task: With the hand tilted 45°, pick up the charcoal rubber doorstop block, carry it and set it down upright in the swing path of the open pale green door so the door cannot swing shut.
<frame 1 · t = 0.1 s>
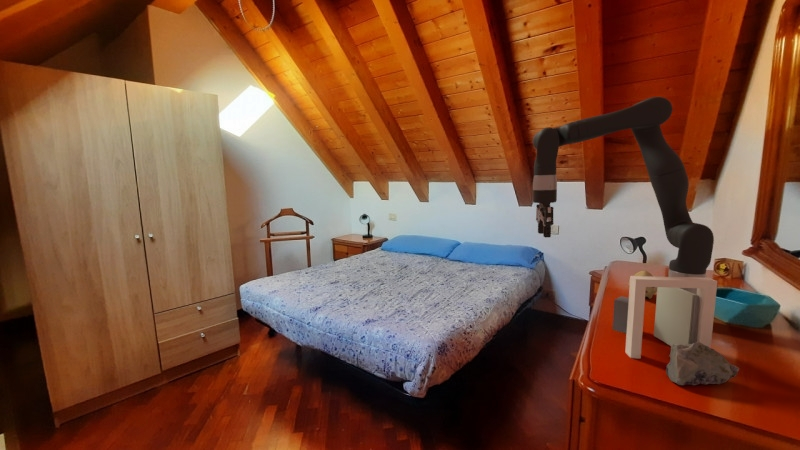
hand: (544, 235, 115), 29 cm above the table, tool pointing down, fingers open, 8 cm apart
doorstop block: (623, 329, 105), on the table
door: (677, 317, 92), point 9 cm above the table, hinge at -80.0°
toy pig: (642, 297, 133), on the table
mineral rock: (700, 383, 78), on the table
door frame: (665, 357, 89), on the table
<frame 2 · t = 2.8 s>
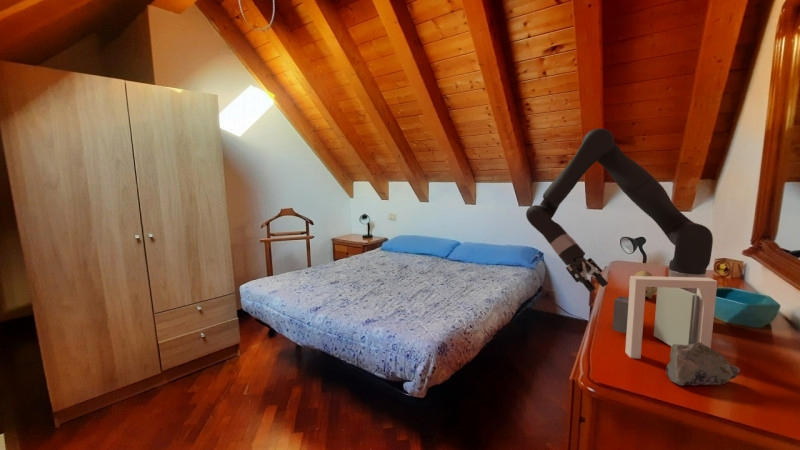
hand: (599, 288, 110), 12 cm above the table, tool tilted 45°, fingers open, 8 cm apart
nothing on the table moved.
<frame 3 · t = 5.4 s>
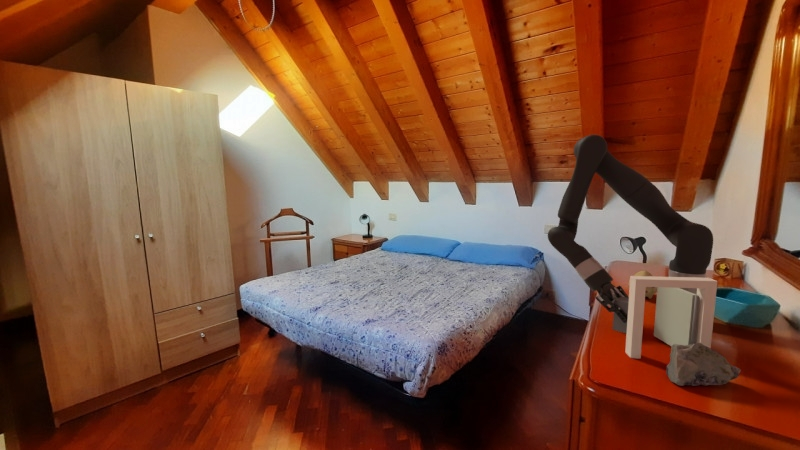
hand: (631, 319, 103), 4 cm above the table, tool tilted 45°, fingers closed on doorstop block, 5 cm apart
doorstop block: (623, 329, 105), on the table, touching gripper
everything else where it was.
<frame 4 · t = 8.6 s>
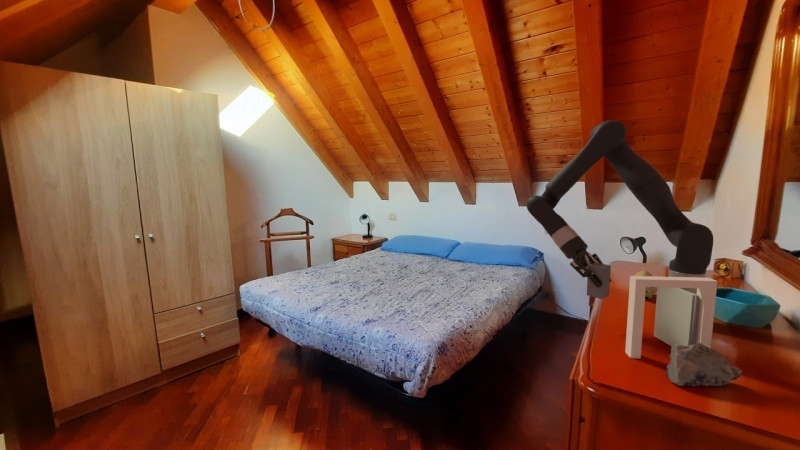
hand: (604, 284, 104), 15 cm above the table, tool tilted 45°, fingers closed on doorstop block, 5 cm apart
doorstop block: (597, 295, 106), point 11 cm above the table, touching gripper
everything else where it was.
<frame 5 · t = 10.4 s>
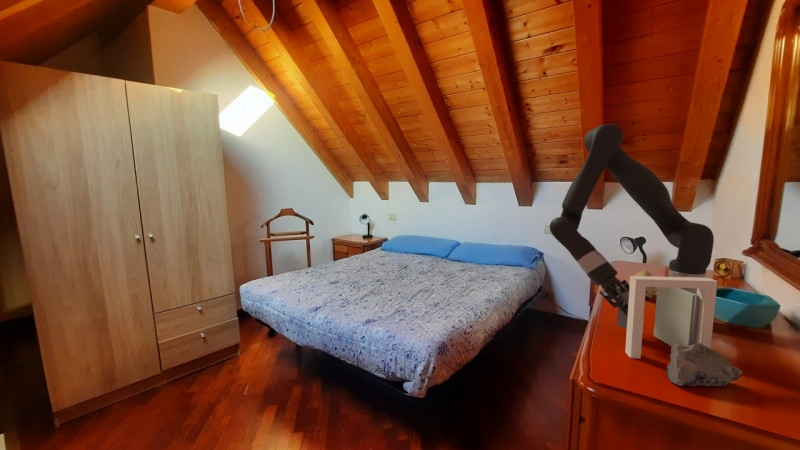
hand: (637, 314, 98), 8 cm above the table, tool tilted 45°, fingers closed on doorstop block, 5 cm apart
doorstop block: (628, 326, 100), point 4 cm above the table, touching gripper
everything else where it was.
when the fingers open (6 cm above the table, at t = 11.7 s): doorstop block drops 1 cm, on the table.
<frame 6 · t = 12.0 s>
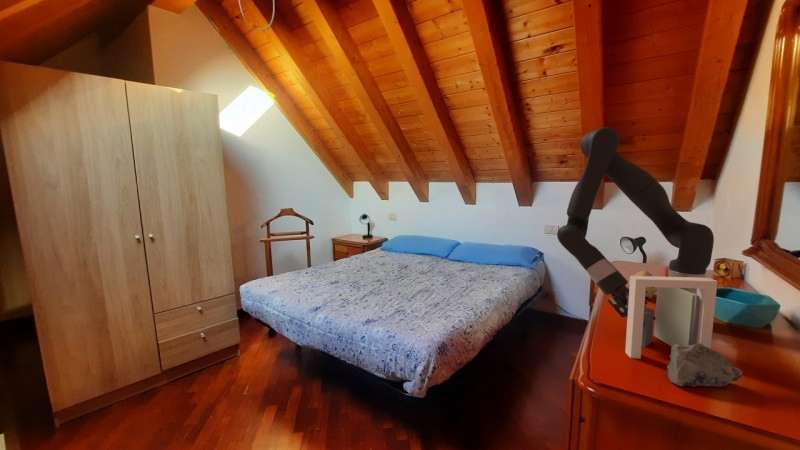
hand: (647, 324, 96), 6 cm above the table, tool tilted 45°, fingers open, 7 cm apart
doorstop block: (639, 341, 98), on the table
everything else where it was.
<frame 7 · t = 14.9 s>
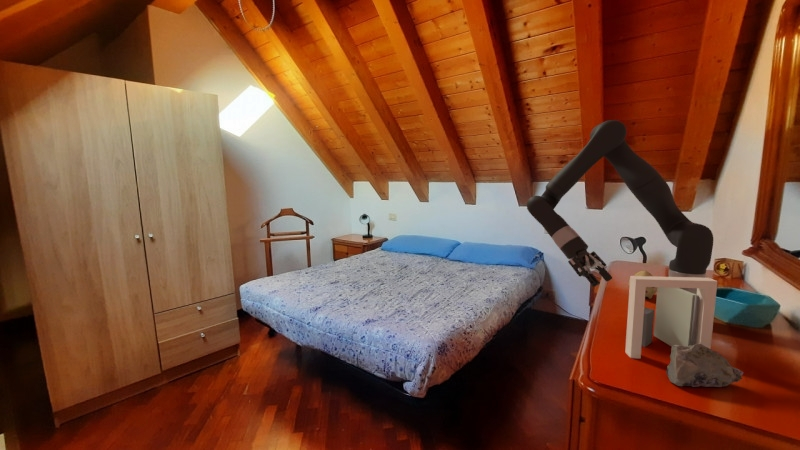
hand: (603, 282, 104), 15 cm above the table, tool tilted 45°, fingers open, 8 cm apart
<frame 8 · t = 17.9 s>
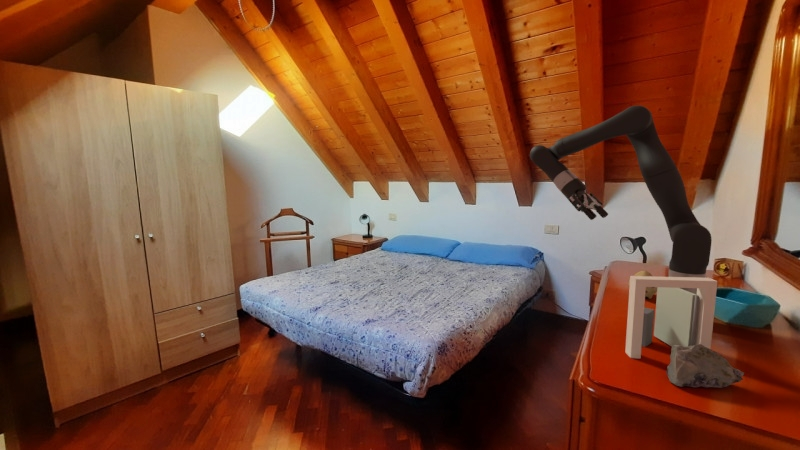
hand: (600, 217, 116), 35 cm above the table, tool tilted 45°, fingers open, 8 cm apart
at the end: doorstop block 0.1 cm from the target spot, on the table; doorstop block tilted 0°; door at -80° (first picture: -80°) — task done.
